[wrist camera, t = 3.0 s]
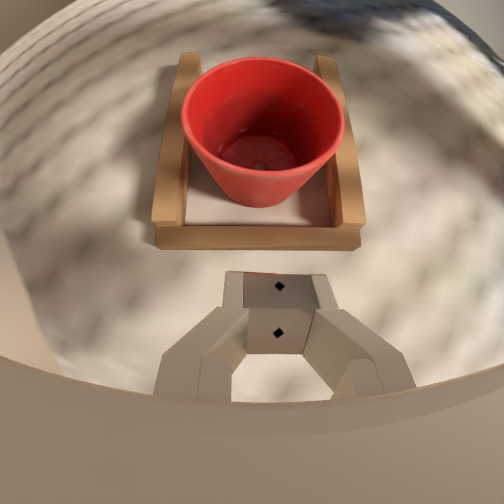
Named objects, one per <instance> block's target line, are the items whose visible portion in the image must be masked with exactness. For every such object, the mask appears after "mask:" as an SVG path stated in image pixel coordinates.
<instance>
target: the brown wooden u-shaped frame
mask: <svg viewBox="0 0 504 504" xmlns="http://www.w3.org/2000/svg"><path fill="white" fill-rule="evenodd" d="M312 73H314V74H315V75H317V76H318V77H319V78H320V79H322V80H323V81H324V82H325V83H326V84H327V85H328V86H329V87H330V88H331V90H332V91H333V92H334V94H335V95H336V97H337V98H338V100H339V102H340V105H341V107H342V110H343V115H344V122H345V127H344V134H343V138H342V141H341V143H340V145H339V147H338V149H337V150H336V152H335V153H334V154H333V155H332V157H331V158H330V159H329V160H328V161H327V162H326V163H325V170H326V179H327V189H328V200H329V211H330V224H331V228H321V227H265V226H185V214H186V201H187V189H188V178H189V168H190V158H191V149H192V147H191V145H190V143H189V142H188V140H187V138H186V136H185V134H184V131H183V128H182V124H181V107H182V103H183V100H184V97H185V95H186V93H187V91H188V90H189V88H190V87H191V86H192V84H193V83H194V82H195V81H196V80H197V79H198V78H199V77H200V76H201V75H202V68H201V62H200V55H199V52H188V53H181V56H180V60H179V64H178V68H177V72H176V76H175V80H174V84H173V88H172V93H171V97H170V102H169V107H168V112H167V116H166V122H165V127H164V132H163V138H162V143H161V149H160V155H159V162H158V168H157V175H156V182H155V190H154V198H153V207H152V216H151V222H152V223H153V224H154V225H155V226H156V236H155V245H156V246H158V247H159V248H160V249H161V250H303V251H354V250H355V249H357V248H358V247H360V246H361V238H360V228H361V227H362V226H364V225H365V224H366V216H365V208H364V200H363V192H362V185H361V179H360V172H359V166H358V160H357V154H356V149H355V143H354V138H353V133H352V128H351V123H350V119H349V114H348V110H347V105H346V101H345V97H344V93H343V89H342V85H341V81H340V77H339V74H338V70H337V66H336V63H335V59H334V57H329V56H322V55H317V56H316V60H315V64H314V67H313V71H312Z"/></svg>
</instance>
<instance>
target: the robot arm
mask: <svg viewBox="0 0 504 504" xmlns="http://www.w3.org/2000/svg"><path fill="white" fill-rule="evenodd" d="M274 353H275V354H303V357H304V358H305V359H306V360H307V361H308V363H309V364H310V365H311V366H312V367H313V369H314V370H315V371H316V372H317V373H318V374H319V376H320V377H321V378H322V379H323V380H324V381H325V383H326V384H327V385H328V386H329V387H330V388H331V390H332V391H333V392H334V393H333V395H332V397H331V399H330V400H322V401H306V402H277V403H253V402H231V377H232V374H233V372H234V371H235V369H236V368H237V367H238V365H239V364H240V363H241V361H242V360H243V359H244V357H245V356H246V354H274ZM0 504H504V363H503V364H500V365H497V366H494V367H492V368H489V369H485V370H482V371H479V372H476V373H473V374H469V375H466V376H462V377H458V378H455V379H451V380H447V381H443V382H439V383H435V384H430V385H426V386H421V387H416V385H415V382H414V380H413V377H412V375H411V373H410V370H409V368H408V365H407V363H406V361H405V359H404V356H403V354H402V353H401V352H399V351H398V350H397V349H395V348H394V347H393V346H392V345H390V344H389V343H388V342H386V341H385V340H384V339H382V338H381V337H380V336H378V335H377V334H376V333H374V332H373V331H372V330H370V329H369V328H368V327H366V326H365V325H364V324H363V323H361V322H360V321H359V320H357V319H356V318H355V317H353V316H352V315H351V314H349V313H348V312H347V311H345V310H344V309H339V307H338V304H337V301H336V299H335V296H334V293H333V291H332V288H331V285H330V283H329V280H328V277H327V276H326V275H325V274H309V275H297V274H274V273H257V272H244V273H243V272H240V271H226V273H225V283H224V294H223V304H222V307H216V308H215V309H214V310H213V311H212V312H211V313H210V314H209V315H207V316H206V317H205V318H204V319H203V320H202V321H201V322H199V323H198V324H197V325H196V326H195V327H194V328H193V329H191V330H190V331H189V332H188V333H187V334H186V335H185V336H183V337H182V338H181V339H180V340H179V341H178V342H176V343H175V344H174V345H173V346H172V347H171V348H170V349H168V350H167V351H166V352H165V353H164V354H163V355H162V358H161V362H160V367H159V371H158V375H157V379H156V383H155V388H154V392H153V395H151V394H144V393H138V392H132V391H126V390H120V389H115V388H110V387H105V386H101V385H96V384H92V383H87V382H83V381H79V380H75V379H71V378H67V377H64V376H60V375H57V374H53V373H50V372H46V371H43V370H40V369H37V368H34V367H31V366H27V365H25V364H22V363H19V362H16V361H13V360H10V359H8V358H5V357H3V356H0Z"/></svg>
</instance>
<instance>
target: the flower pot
mask: <svg viewBox="0 0 504 504" xmlns="http://www.w3.org/2000/svg"><path fill="white" fill-rule="evenodd" d="M181 124H182V128H183V131H184V134H185V136H186V138H187V140H188V142H189V143H190V145H191V147H192V148H193V150H194V151H195V153H196V154H197V156H198V157H199V159H200V160H201V161H202V163H203V164H204V166H205V167H206V169H207V170H208V172H209V173H210V175H211V176H212V177H213V178H214V180H215V181H216V182H217V184H218V185H219V186H220V187H221V189H222V190H223V191H224V193H225V194H226V195H227V196H228V197H229V198H231V199H232V200H234V201H235V202H237V203H239V204H241V205H244V206H248V207H253V208H264V207H270V206H274V205H276V204H279V203H281V202H282V201H284V200H285V199H287V198H288V197H289V196H290V195H292V194H293V193H294V192H295V191H296V190H297V189H299V188H300V187H301V186H302V185H303V184H304V183H306V182H307V181H308V180H309V179H310V178H311V177H312V176H313V175H314V174H315V173H316V172H317V171H318V170H319V169H320V168H321V167H322V166H323V165H324V164H325V163H326V162H327V161H328V160H329V159H330V158H331V157H332V155H333V154H334V153H335V152H336V150H337V149H338V147H339V145H340V143H341V141H342V138H343V134H344V127H345V122H344V115H343V110H342V107H341V105H340V102H339V100H338V98H337V97H336V95H335V94H334V92H333V91H332V90H331V88H330V87H329V86H328V85H327V84H326V83H325V82H324V81H323V80H322V79H320V78H319V77H318V76H317V75H315V74H314V73H312V72H311V71H309V70H307V69H306V68H304V67H302V66H300V65H297V64H295V63H292V62H289V61H285V60H281V59H276V58H268V57H247V58H240V59H235V60H232V61H228V62H225V63H222V64H220V65H218V66H215V67H214V68H212V69H210V70H208V71H207V72H206V73H204V74H203V75H201V76H200V77H199V78H198V79H197V80H196V81H195V82H194V83H193V84H192V86H191V87H190V88H189V90H188V91H187V93H186V95H185V97H184V100H183V103H182V107H181Z"/></svg>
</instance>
